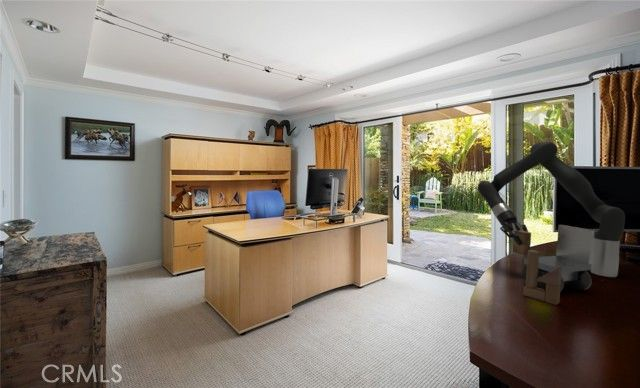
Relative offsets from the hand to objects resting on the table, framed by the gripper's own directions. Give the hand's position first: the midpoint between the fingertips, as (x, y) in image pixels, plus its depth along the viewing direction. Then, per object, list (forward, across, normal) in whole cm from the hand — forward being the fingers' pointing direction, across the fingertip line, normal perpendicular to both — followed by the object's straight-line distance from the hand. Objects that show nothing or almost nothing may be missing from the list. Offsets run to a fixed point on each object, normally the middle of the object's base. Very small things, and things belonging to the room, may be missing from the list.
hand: (524, 244), depth 137 cm
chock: (+2, 0, +4) cm, 5 cm away
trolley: (+20, +3, +2) cm, 20 cm away
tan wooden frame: (+26, -15, -3) cm, 30 cm away
